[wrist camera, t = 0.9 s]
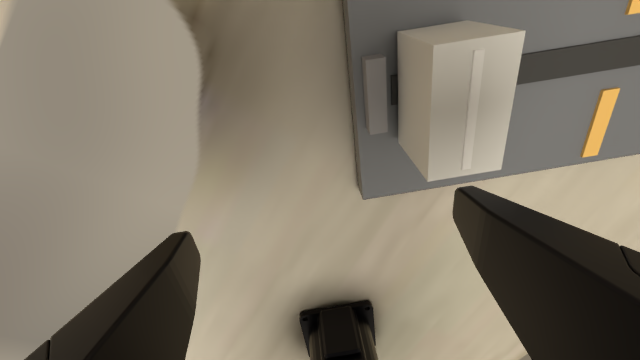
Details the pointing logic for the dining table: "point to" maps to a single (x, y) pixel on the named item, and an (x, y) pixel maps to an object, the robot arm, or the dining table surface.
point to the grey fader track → (531, 88)
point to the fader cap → (456, 96)
